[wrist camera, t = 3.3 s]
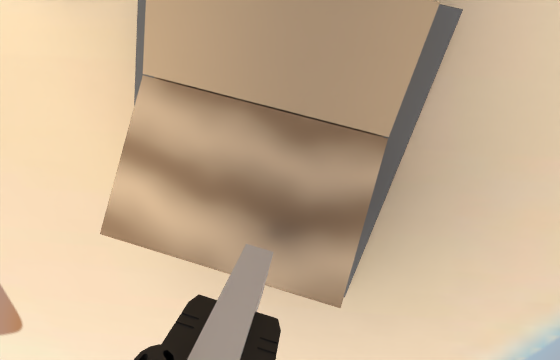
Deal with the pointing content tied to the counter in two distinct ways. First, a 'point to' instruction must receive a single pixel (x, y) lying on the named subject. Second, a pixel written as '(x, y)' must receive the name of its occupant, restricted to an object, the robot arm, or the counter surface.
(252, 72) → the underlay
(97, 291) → the counter surface
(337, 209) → the plank
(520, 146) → the counter surface
